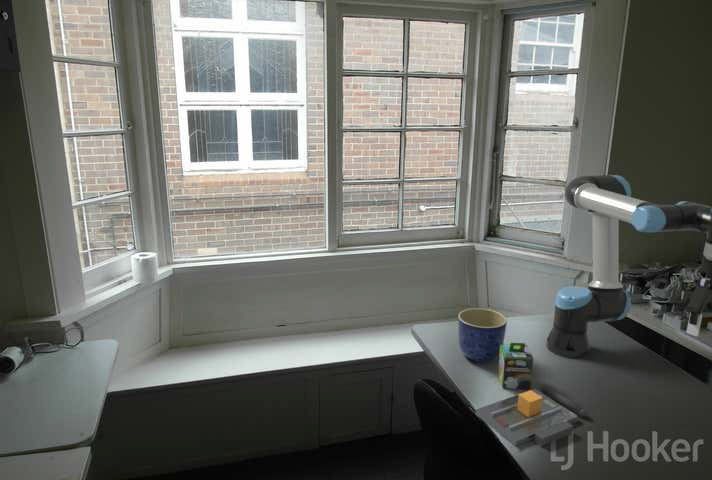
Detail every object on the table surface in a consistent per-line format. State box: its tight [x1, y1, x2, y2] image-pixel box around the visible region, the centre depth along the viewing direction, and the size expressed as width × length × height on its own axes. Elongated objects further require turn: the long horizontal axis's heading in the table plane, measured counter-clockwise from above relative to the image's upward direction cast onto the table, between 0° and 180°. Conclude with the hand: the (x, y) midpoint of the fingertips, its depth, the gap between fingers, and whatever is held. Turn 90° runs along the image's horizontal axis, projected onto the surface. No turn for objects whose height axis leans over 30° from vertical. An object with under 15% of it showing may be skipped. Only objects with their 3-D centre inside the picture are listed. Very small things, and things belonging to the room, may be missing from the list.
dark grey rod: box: [541, 385, 588, 418], centre depth 146 cm, size 15×2×2 cm, turn 27°
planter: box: [457, 307, 508, 363], centre depth 174 cm, size 17×17×15 cm
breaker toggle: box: [517, 389, 543, 418], centre depth 140 cm, size 4×5×5 cm
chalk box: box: [497, 342, 535, 391], centre depth 157 cm, size 9×9×15 cm
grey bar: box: [533, 421, 574, 447], centre depth 132 cm, size 2×12×2 cm, turn 117°
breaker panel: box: [475, 388, 579, 447], centre depth 140 cm, size 16×24×2 cm, turn 117°
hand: (705, 329), depth 138 cm, fingers open, 13 cm apart
